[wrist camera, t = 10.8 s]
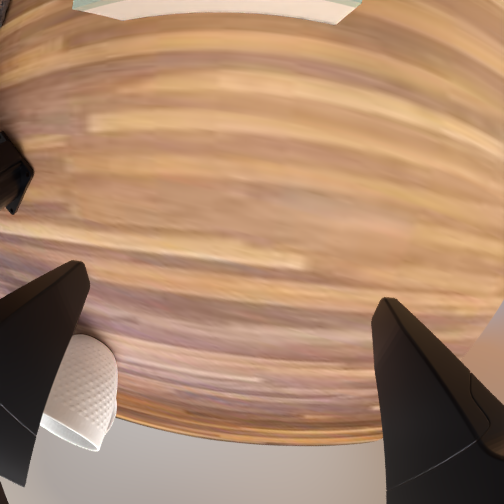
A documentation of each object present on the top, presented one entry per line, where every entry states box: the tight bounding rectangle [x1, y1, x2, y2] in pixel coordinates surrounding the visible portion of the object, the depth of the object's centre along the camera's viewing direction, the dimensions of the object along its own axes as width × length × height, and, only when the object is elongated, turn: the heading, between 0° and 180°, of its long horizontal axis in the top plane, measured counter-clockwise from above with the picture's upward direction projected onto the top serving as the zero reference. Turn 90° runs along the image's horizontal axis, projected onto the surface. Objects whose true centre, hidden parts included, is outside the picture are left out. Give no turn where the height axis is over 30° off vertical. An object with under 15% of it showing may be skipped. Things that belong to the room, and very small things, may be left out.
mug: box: [40, 334, 118, 451], centre depth 29 cm, size 15×11×13 cm
